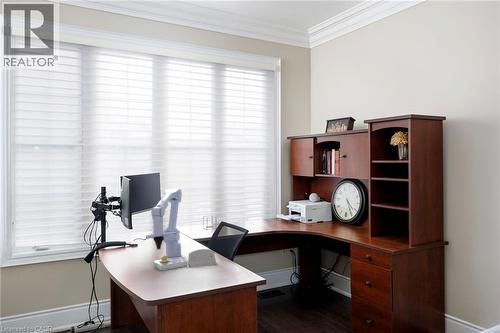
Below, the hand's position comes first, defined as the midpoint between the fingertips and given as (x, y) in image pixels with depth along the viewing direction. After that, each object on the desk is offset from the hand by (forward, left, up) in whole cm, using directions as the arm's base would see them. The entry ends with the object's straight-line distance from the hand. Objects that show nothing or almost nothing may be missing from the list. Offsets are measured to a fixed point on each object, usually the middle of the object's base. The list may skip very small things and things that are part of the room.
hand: (158, 249), depth 221 cm
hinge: (-22, +15, -10) cm, 28 cm away
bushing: (-1, +7, -9) cm, 12 cm away
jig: (-4, +7, -9) cm, 13 cm away
